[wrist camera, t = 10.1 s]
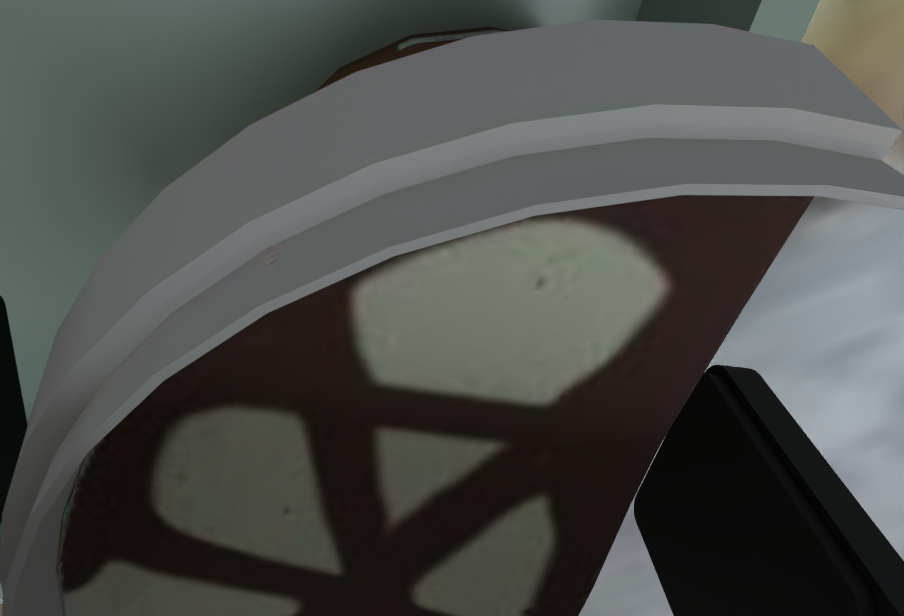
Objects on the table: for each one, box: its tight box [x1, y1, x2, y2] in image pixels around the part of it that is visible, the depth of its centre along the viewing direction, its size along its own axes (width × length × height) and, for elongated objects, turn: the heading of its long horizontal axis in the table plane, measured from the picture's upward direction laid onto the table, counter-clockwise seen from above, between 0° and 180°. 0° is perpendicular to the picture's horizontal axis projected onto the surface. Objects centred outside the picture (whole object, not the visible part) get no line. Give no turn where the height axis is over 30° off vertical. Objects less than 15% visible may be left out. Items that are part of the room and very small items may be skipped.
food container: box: [0, 20, 904, 616], centre depth 10 cm, size 12×6×10 cm, turn 164°
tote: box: [0, 0, 819, 598], centre depth 12 cm, size 20×17×5 cm
